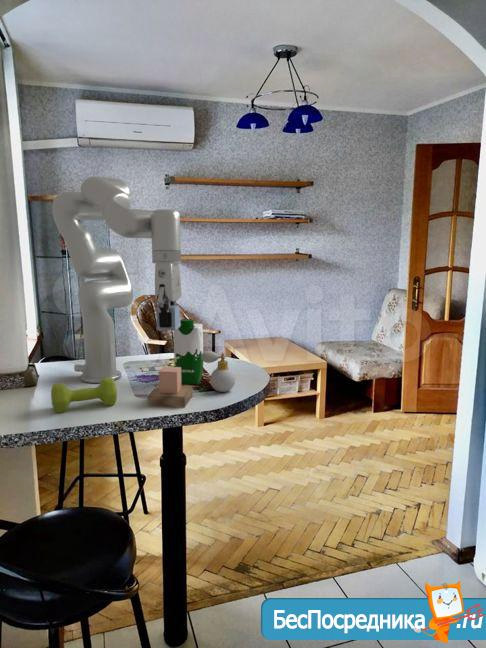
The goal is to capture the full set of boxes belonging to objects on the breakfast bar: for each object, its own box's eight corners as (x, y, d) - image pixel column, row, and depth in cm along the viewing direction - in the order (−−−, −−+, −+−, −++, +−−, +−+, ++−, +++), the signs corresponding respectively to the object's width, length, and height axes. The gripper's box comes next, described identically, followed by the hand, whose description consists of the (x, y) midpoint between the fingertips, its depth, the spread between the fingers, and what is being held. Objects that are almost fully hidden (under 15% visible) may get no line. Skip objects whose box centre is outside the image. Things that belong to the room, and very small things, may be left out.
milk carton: (172, 384, 147) (170, 321, 143) (179, 376, 156) (177, 316, 152) (200, 385, 146) (199, 321, 142) (205, 377, 155) (204, 316, 151)
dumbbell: (53, 417, 120) (51, 389, 119) (51, 407, 127) (49, 381, 126) (119, 407, 127) (118, 381, 126) (113, 398, 134) (112, 374, 133)
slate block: (157, 329, 126) (156, 307, 125) (162, 326, 131) (161, 305, 130) (175, 330, 126) (174, 307, 125) (179, 327, 131) (179, 305, 130)
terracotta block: (159, 392, 130) (158, 371, 128) (164, 387, 134) (163, 366, 133) (177, 393, 129) (176, 372, 128) (181, 387, 134) (181, 367, 133)
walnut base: (148, 405, 128) (148, 395, 127) (158, 394, 138) (158, 384, 137) (184, 407, 127) (184, 396, 126) (192, 395, 137) (192, 385, 136)
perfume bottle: (238, 393, 139) (238, 353, 137) (206, 396, 136) (206, 355, 134) (231, 385, 146) (231, 347, 144) (200, 388, 143) (199, 350, 141)
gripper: (172, 258, 116) (173, 331, 120) (187, 256, 133) (189, 320, 136) (142, 258, 117) (145, 331, 120) (161, 256, 134) (163, 320, 137)
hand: (168, 324), depth 128 cm, fingers closed on slate block, 5 cm apart
